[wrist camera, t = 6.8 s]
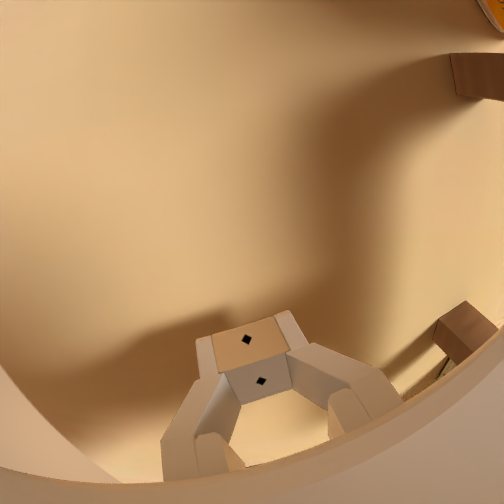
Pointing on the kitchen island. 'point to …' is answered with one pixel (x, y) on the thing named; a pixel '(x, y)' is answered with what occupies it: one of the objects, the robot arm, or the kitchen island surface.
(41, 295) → the kitchen island surface
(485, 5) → the beer can
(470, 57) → the bridge
